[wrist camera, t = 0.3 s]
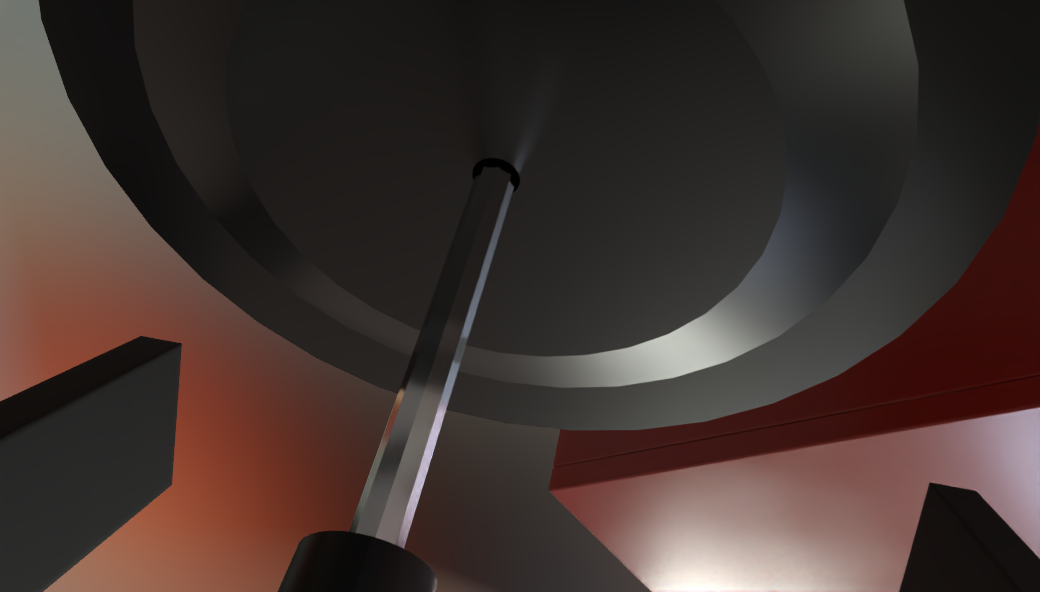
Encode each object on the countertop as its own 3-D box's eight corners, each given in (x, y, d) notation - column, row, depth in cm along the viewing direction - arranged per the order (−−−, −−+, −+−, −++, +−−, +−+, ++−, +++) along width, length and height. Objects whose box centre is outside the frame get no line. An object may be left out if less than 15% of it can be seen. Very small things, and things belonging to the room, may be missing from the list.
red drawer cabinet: (1092, 68, 24) (1225, 373, 17) (1166, 367, 31) (1281, 667, 24) (597, 237, 32) (547, 490, 25) (748, 443, 39) (743, 684, 32)
